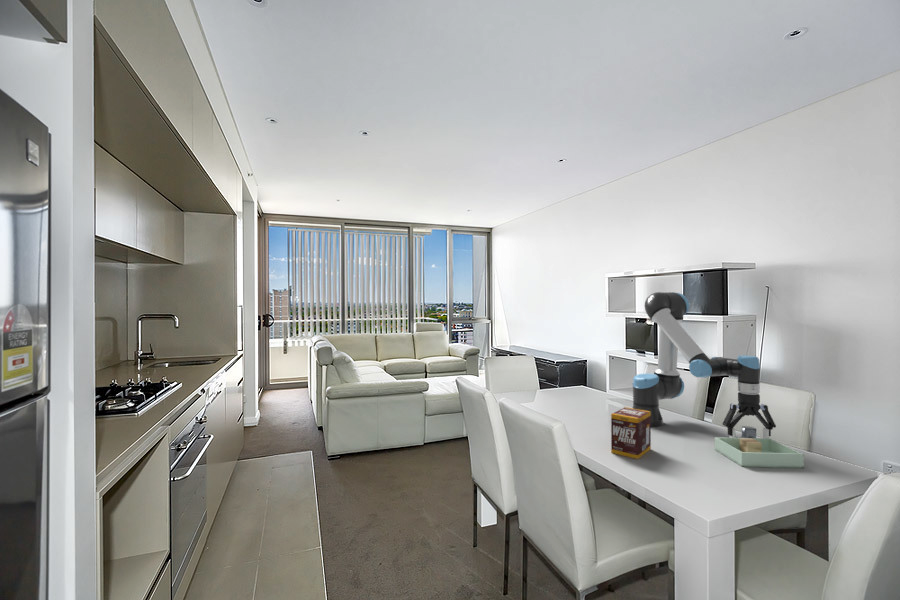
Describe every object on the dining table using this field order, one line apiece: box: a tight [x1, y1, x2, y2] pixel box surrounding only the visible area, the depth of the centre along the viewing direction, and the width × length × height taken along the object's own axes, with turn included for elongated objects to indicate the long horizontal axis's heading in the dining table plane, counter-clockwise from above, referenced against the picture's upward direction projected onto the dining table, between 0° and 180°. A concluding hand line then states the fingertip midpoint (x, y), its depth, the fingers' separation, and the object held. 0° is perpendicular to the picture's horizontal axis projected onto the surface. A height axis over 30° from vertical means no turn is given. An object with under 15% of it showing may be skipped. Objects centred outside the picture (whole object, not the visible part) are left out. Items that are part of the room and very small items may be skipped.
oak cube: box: [739, 437, 762, 453], centre depth 164 cm, size 5×5×5 cm
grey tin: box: [741, 425, 757, 438], centre depth 176 cm, size 5×5×7 cm
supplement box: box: [610, 407, 652, 460], centre depth 169 cm, size 10×15×16 cm
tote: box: [714, 436, 805, 469], centre depth 161 cm, size 17×21×5 cm
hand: (749, 443), depth 176 cm, fingers open, 13 cm apart
